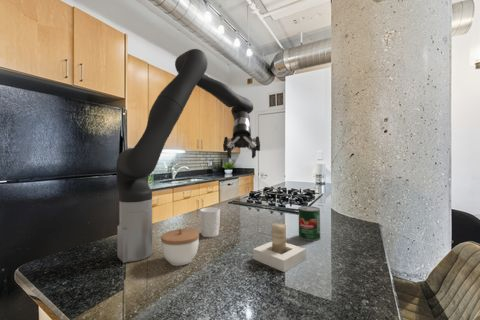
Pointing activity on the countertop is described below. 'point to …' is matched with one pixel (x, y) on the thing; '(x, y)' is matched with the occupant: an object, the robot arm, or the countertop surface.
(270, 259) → the beige socket block
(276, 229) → the birch peg
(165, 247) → the lidded jar
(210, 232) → the white cup
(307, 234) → the canned tomato
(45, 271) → the countertop surface
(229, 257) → the countertop surface
